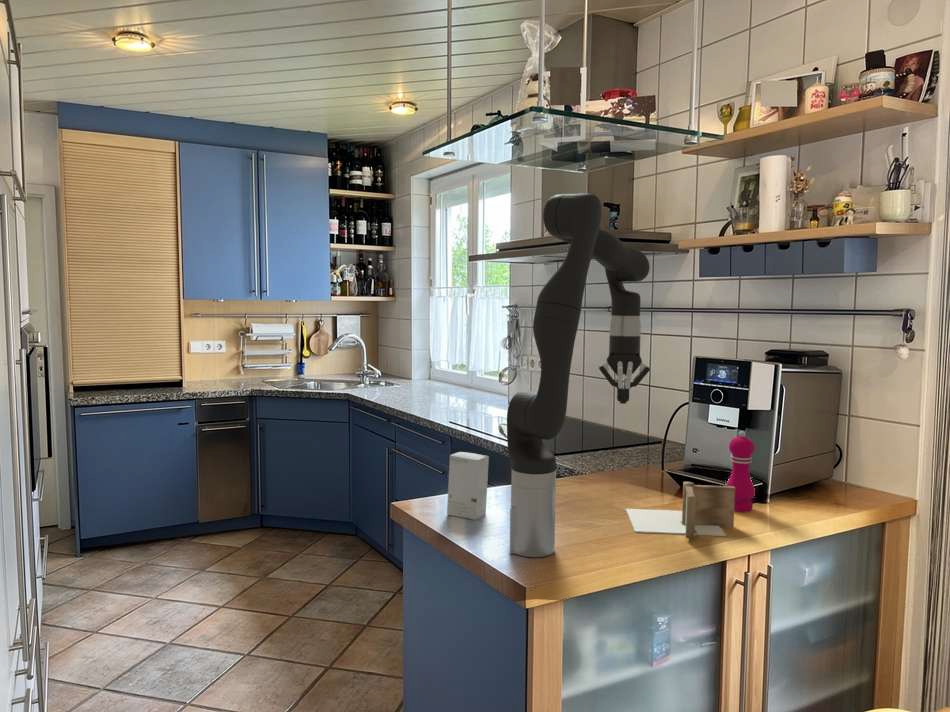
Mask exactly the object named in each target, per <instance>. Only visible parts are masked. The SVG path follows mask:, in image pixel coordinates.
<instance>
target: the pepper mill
mask: <svg viewBox="0 0 950 712" xmlns="http://www.w3.org/2000/svg"><path fill="white" fill-rule="evenodd" d="M737 434H738V436H735V437H733V438H732V439H731V440H730V441H729V444H728V449H729V452H730V453H731V454H730V461H731V462H732V469H731V473H730V476H729V477H730V478H729V477H728V478H729V479H728V481H727V483H726V482H725V486H734V487H735V503H734V512H738V513H739V512H740V513H749V512H752V511H753V507H754V506H753V502H752V500H753V499H754V498H755V497H754V496H755V488H754V485H753V483H752V480H751V478H752V477H751V475H750V465H751V464H752V459H753V458H752V454H753V453H754V452H755V445H754V442H753V440H752V439H751V438H748V437H746V435H747V434H746V431H744V430H740V431H738V433H737Z"/></svg>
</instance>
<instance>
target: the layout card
mask: <svg viewBox="0 0 950 712" xmlns="http://www.w3.org/2000/svg"><path fill="white" fill-rule="evenodd" d="M625 512H626V515H627V516H629V517H628V519H629V522H630V521H631V522H630V524H631V526H632V528H633V531H634V533H637V534H638V533H640V534H643V533H644V534H664V535H665V534H667V535H685V536H686V525H685V524H682V510H670V509H669V510H668V509H647V508H646V509H645V508H643V509H642V508H641V509H640V508H625ZM694 536H711V537H712V536H714V537H726V536H727V534H726V533H725V532H724V531H723V529H722V527H719V525H699V524H695V531H694Z"/></svg>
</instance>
